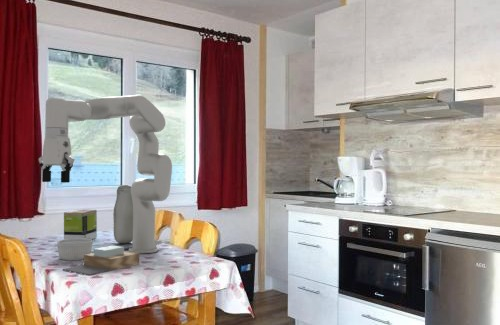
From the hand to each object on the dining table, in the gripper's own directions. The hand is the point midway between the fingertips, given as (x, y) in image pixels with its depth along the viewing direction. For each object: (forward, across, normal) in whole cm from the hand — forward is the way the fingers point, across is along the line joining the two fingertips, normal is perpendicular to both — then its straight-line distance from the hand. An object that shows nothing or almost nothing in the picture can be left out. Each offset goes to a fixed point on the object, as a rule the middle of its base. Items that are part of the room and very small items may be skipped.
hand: (55, 182), depth 160 cm
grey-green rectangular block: (+27, -10, -16) cm, 33 cm away
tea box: (+31, +46, -51) cm, 75 cm away
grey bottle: (+31, +20, -55) cm, 66 cm away
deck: (+31, -10, -17) cm, 37 cm away
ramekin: (+31, +12, -19) cm, 38 cm away
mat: (+31, -10, -6) cm, 33 cm away
